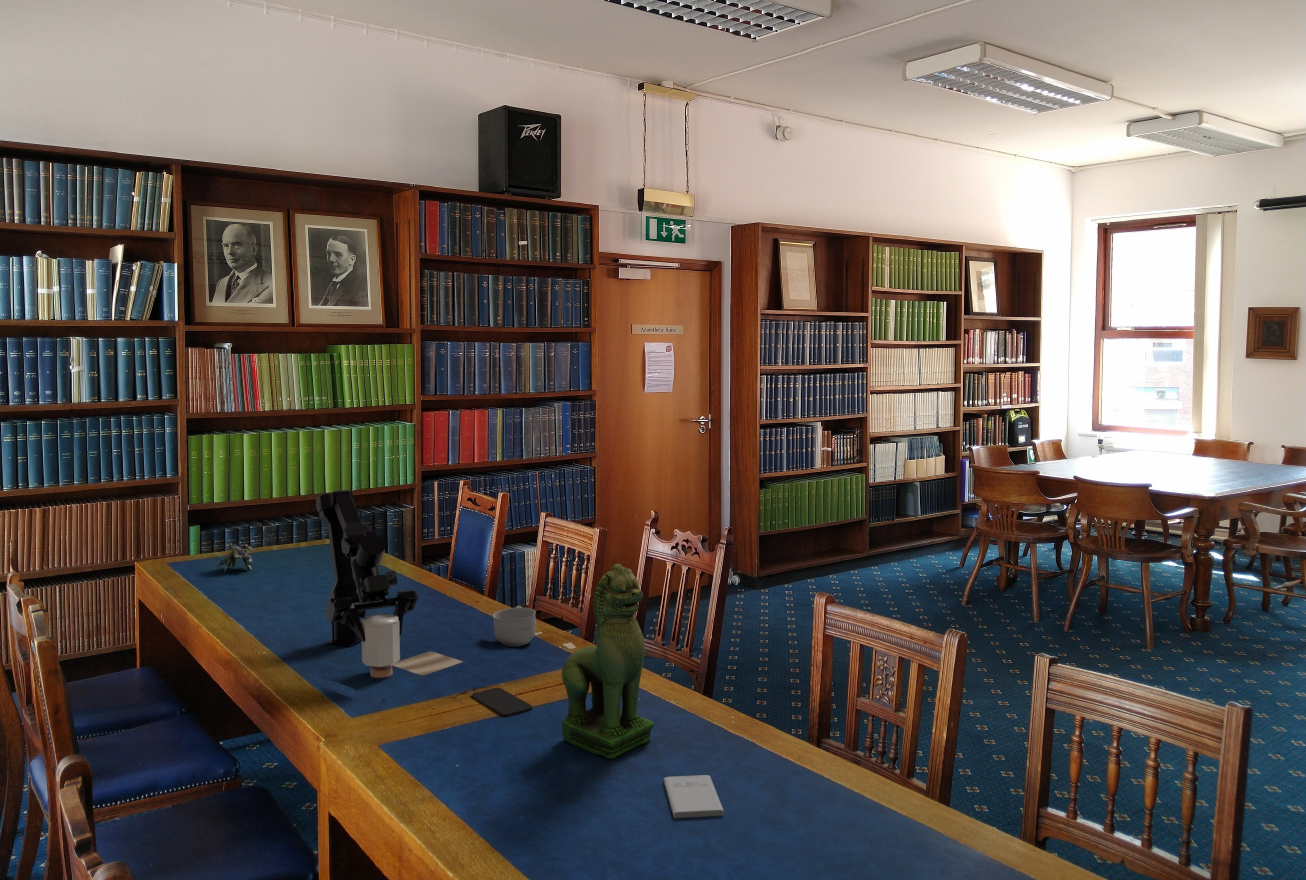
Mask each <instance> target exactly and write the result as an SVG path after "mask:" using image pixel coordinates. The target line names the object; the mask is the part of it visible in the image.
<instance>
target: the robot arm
mask: <svg viewBox="0 0 1306 880" xmlns="http://www.w3.org/2000/svg"><path fill="white" fill-rule="evenodd" d="M315 507H316V508H315V509H316V510H317V512H318V513H319V514H318V515H319V519H320V521H321V522H322V523H323V524H324V525H325V526H326V527H327V531H328V537H329V544H330V546H329V547H330V552H331V553H330V554H331V561H332V570H333V575H334V584H333V587H332V589H331V591H330V593H329V599H328V602H327V606H326V609H325V612H326V619H327V620H328V621H329V623H331V635H332V636H331V640H330V641H328V642H327V643H328V645H333V646H340V647H341V646H343V647H351V646H353V645H355V644H357V643H359V642H362V641H363V642H365V634H364V630H363V627H362V624H361V622H362V620H361V619H363V618H365V617H366V614H367V613H366V612H367V611H370V610H377V609H383V608H384V609H385V608H391V607H393V609H394V611H393V614H392V615H396V616H398V620H399V629H400V637H401V636H402V631H403V622H404V621H403V620H404V615H407V612H411V611H413V610H414V608H415V607H416V604H417V602H418V599H419V597H418V593H417V591H416V590H414V588H413V589H405V590H398V592H397V594H396V596H395V597H388V598H387V597H386V596H388V595H389V589H391V587H392V586H397V584H398V576H397V573H396V570H390V571H389V570H388V571H387V572H386V573H385V574H381V573H380V569H379V565H380V564H381V562H382V560H383V556H384V554H385V551H386V548H387V542H386V540H385V539H384V538H383V537H382V536H380V535H378V534H376V533H375V531H374V530H372V528H371V527H370V526H368V525H366V524H364V523H363V522H362V519H361V517H360V514H359V512H358V510H357V507H356V503H355V500H354V493H353V491H352V490H349V489H344V490H334V491H332V492H322V493H320V494H319V495H318V496H317V497H316V498H315ZM352 558H354V559H353V560H352Z"/></svg>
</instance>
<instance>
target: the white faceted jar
mask: <svg viewBox="0 0 1306 880" xmlns="http://www.w3.org/2000/svg"><path fill="white" fill-rule="evenodd" d="M361 624H362V627H363V630H364V634H365V642H363V641H361V661H362V663H363V664H364V666H366V667H372V666H375V667H381V666H387V665H393V664H394V663H396V662H398V661H401V652H400V651H401V650H400V649H401V648H400V647H401V643H400V642H401V640H400V639H401V638H400V637H401V636H400V629H399V620H398V616H396V615H393V614H391V613H390V614H389V613H378V614H372V615H369V616H365V618H362V619H361Z"/></svg>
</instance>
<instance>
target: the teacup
mask: <svg viewBox="0 0 1306 880" xmlns="http://www.w3.org/2000/svg"><path fill="white" fill-rule="evenodd" d="M536 613H537V612H536V610H535V609H534V608H529V607H522V606H521V605H517V606H515V607H510V608H504V609H501V610H498V611H496V612H494V613H493V614H492V619H493V631H494V636H495V639H496V640H497V641H498V642H499V643H501V644H502V645H503V646H505V645H506V647H519V646H522V647H523V646H524V645H527V644H528V643H530V641H531V640H532V639H533V638H535V636H536V633H537V632H536V631H537V622H536Z"/></svg>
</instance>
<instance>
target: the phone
mask: <svg viewBox="0 0 1306 880" xmlns="http://www.w3.org/2000/svg"><path fill="white" fill-rule="evenodd" d="M470 696H471V698H472V699H473V700H475V701H477V702H478V703H480V704H481V705H483V706H485V707H486V708H488V709H489V710H491V711H493V712H494V713H495V714H497V715H499V716H501V717H504V718H507V717H512V716H515V715H519V714H522V713H523V714H524V713H526V712H529V711H532V710H533V708H534V706H533V705H532V704H531V703H528V702H527V701H524V700H523V699H521V698H520V697H518V696H516V695H514V694H512V693H510V692H509V691H507V690H506V689H504V688H502V687H494V688H489V689H486V690H481V691H477V692H474V693H471V695H470Z"/></svg>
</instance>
